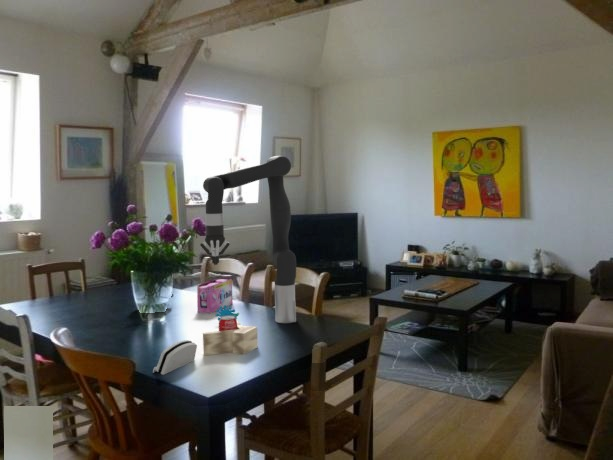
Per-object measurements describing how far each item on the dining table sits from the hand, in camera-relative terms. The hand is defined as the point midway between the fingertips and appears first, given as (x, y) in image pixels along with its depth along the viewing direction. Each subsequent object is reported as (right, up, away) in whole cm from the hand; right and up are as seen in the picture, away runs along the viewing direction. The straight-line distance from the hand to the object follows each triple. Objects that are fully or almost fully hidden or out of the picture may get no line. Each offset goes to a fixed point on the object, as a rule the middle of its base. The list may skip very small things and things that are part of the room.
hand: (215, 264), depth 231 cm
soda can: (+9, -31, -21) cm, 38 cm away
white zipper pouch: (-6, -33, -42) cm, 54 cm away
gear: (+3, -28, +16) cm, 32 cm away
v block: (+11, -31, -23) cm, 40 cm away
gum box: (-8, -25, +46) cm, 53 cm away
